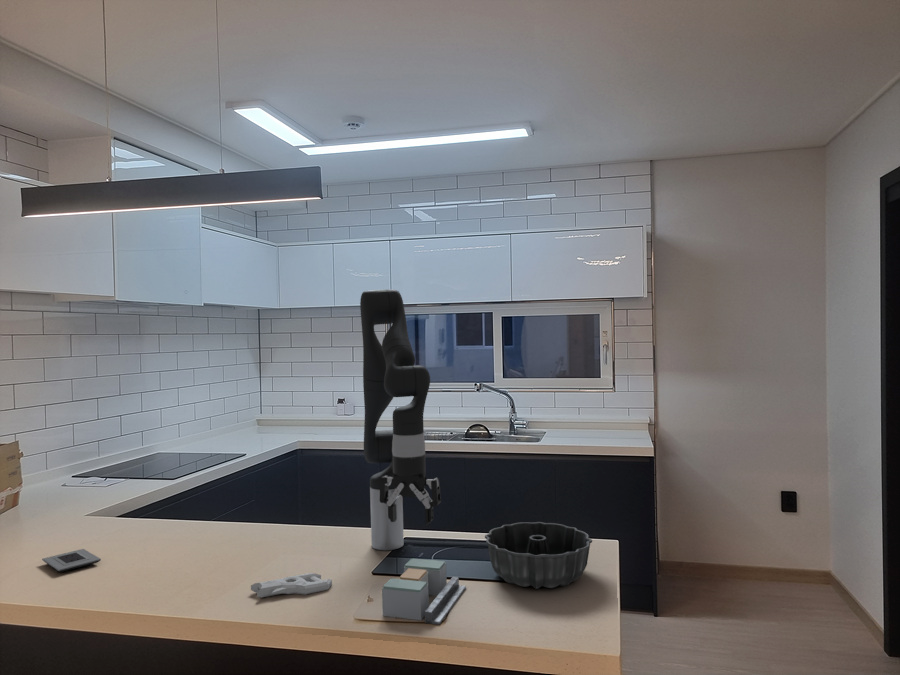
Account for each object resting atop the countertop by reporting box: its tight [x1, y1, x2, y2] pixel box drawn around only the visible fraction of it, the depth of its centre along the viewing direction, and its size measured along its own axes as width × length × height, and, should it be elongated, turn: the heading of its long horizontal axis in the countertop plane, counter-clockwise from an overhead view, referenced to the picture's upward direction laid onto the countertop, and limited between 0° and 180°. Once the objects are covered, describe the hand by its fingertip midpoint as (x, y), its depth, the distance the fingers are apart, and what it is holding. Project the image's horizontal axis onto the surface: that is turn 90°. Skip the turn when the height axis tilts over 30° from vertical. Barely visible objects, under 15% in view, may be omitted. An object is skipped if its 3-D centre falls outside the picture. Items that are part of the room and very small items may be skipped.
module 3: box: [403, 558, 448, 597], centre depth 161 cm, size 5×9×6 cm, turn 72°
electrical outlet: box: [41, 548, 102, 573], centre depth 185 cm, size 13×10×2 cm
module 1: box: [398, 568, 430, 596], centre depth 155 cm, size 6×5×6 cm
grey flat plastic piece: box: [250, 572, 333, 599], centre depth 163 cm, size 18×4×10 cm
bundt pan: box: [484, 521, 593, 590], centre depth 168 cm, size 26×26×10 cm
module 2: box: [381, 578, 430, 621], centre depth 149 cm, size 5×9×6 cm, turn 72°
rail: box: [424, 576, 467, 625], centre depth 153 cm, size 20×3×2 cm, turn 162°
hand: (410, 522), depth 155 cm, fingers open, 8 cm apart
